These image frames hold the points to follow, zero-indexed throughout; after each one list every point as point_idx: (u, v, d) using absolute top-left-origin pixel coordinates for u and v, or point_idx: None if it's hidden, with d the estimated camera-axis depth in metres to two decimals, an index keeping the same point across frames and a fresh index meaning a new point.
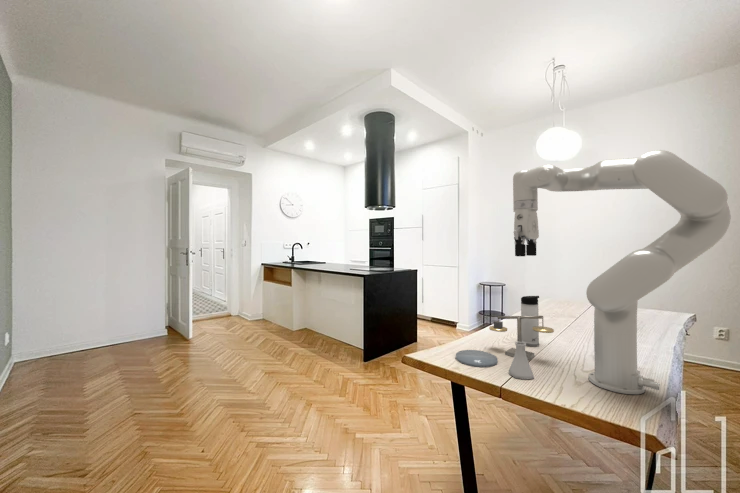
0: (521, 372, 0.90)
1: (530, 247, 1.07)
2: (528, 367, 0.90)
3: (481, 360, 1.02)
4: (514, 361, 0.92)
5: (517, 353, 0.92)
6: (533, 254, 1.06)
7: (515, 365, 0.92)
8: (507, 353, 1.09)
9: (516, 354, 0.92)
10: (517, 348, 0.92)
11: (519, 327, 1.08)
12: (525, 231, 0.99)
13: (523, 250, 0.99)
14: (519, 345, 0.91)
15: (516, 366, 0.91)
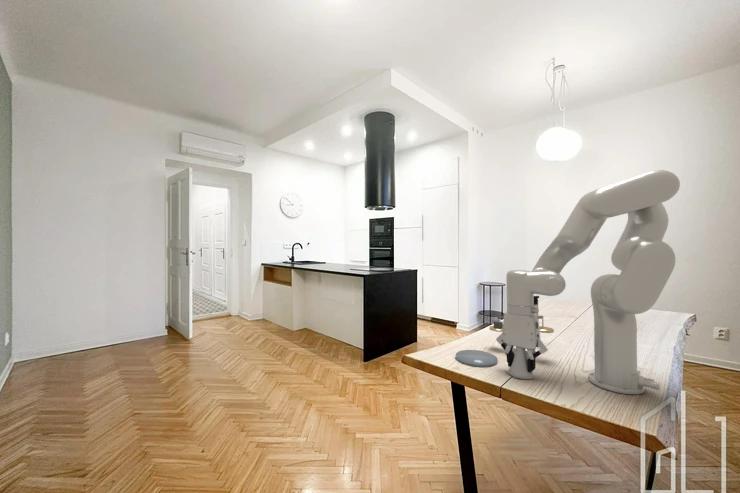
0: (521, 372, 0.90)
1: (512, 356, 0.94)
2: None
3: (481, 360, 1.02)
4: (514, 361, 0.92)
5: (517, 353, 0.92)
6: None
7: (515, 365, 0.92)
8: None
9: (516, 354, 0.92)
10: (517, 348, 0.92)
11: None
12: None
13: None
14: None
15: (516, 366, 0.91)
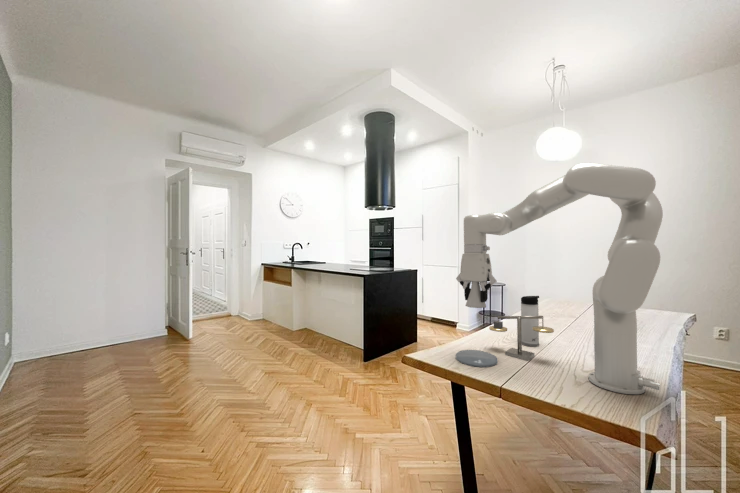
0: (475, 302, 1.03)
1: (468, 291, 1.08)
2: None
3: (481, 360, 1.02)
4: (470, 294, 1.06)
5: (472, 287, 1.05)
6: None
7: (470, 297, 1.05)
8: (507, 353, 1.09)
9: (471, 288, 1.05)
10: (472, 283, 1.05)
11: (519, 327, 1.08)
12: None
13: None
14: None
15: (471, 297, 1.04)
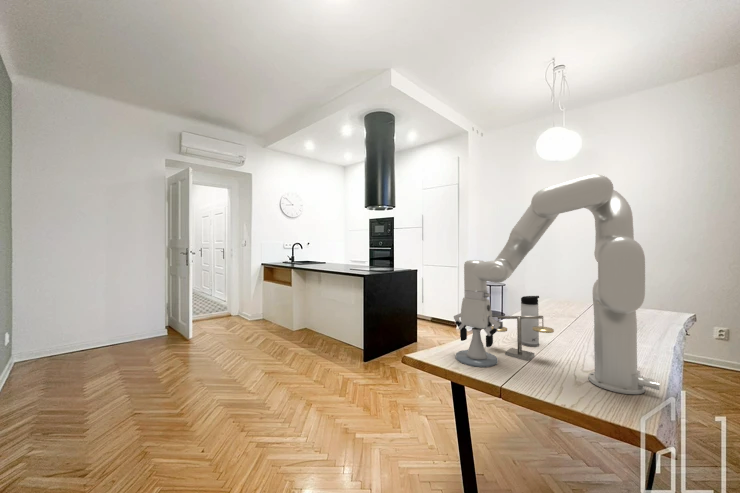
0: (476, 354, 1.03)
1: (464, 332, 1.09)
2: (482, 349, 1.03)
3: (481, 360, 1.02)
4: (471, 344, 1.05)
5: (473, 337, 1.05)
6: (465, 338, 1.10)
7: (471, 348, 1.05)
8: (507, 353, 1.09)
9: (472, 338, 1.05)
10: (473, 333, 1.05)
11: (519, 327, 1.08)
12: None
13: None
14: (475, 330, 1.04)
15: (472, 348, 1.04)
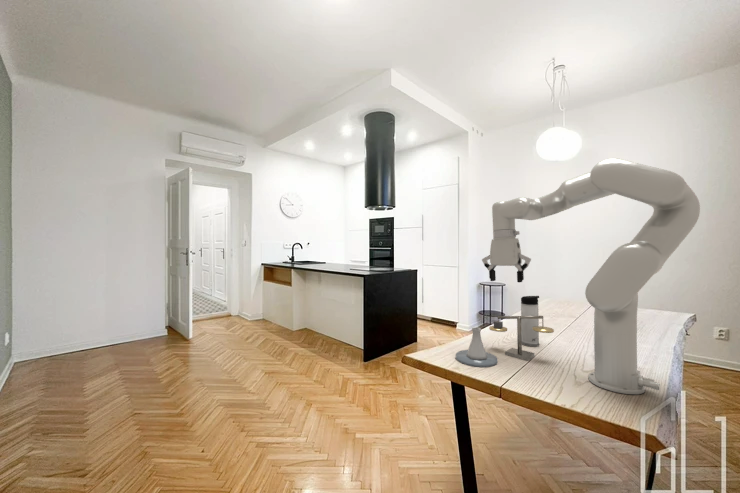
0: (476, 354, 1.03)
1: (493, 273, 1.13)
2: (482, 349, 1.03)
3: (481, 360, 1.02)
4: (471, 344, 1.05)
5: (473, 337, 1.05)
6: (494, 279, 1.13)
7: (471, 348, 1.05)
8: (507, 353, 1.09)
9: (472, 338, 1.05)
10: (473, 333, 1.05)
11: (519, 327, 1.08)
12: (521, 258, 1.07)
13: None
14: (475, 330, 1.04)
15: (472, 348, 1.04)
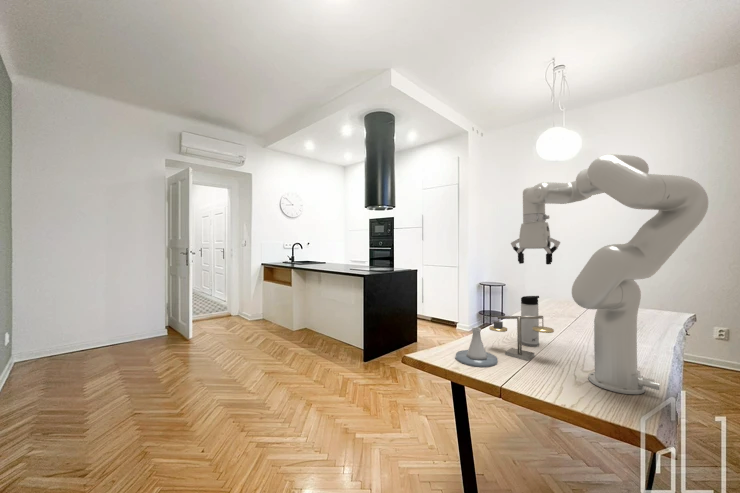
0: (476, 354, 1.03)
1: (522, 256, 1.18)
2: (482, 349, 1.03)
3: (481, 360, 1.02)
4: (471, 344, 1.05)
5: (473, 337, 1.05)
6: (523, 262, 1.18)
7: (471, 348, 1.05)
8: (507, 353, 1.09)
9: (472, 338, 1.05)
10: (473, 333, 1.05)
11: (519, 327, 1.08)
12: (550, 242, 1.12)
13: None
14: (475, 330, 1.04)
15: (472, 348, 1.04)
